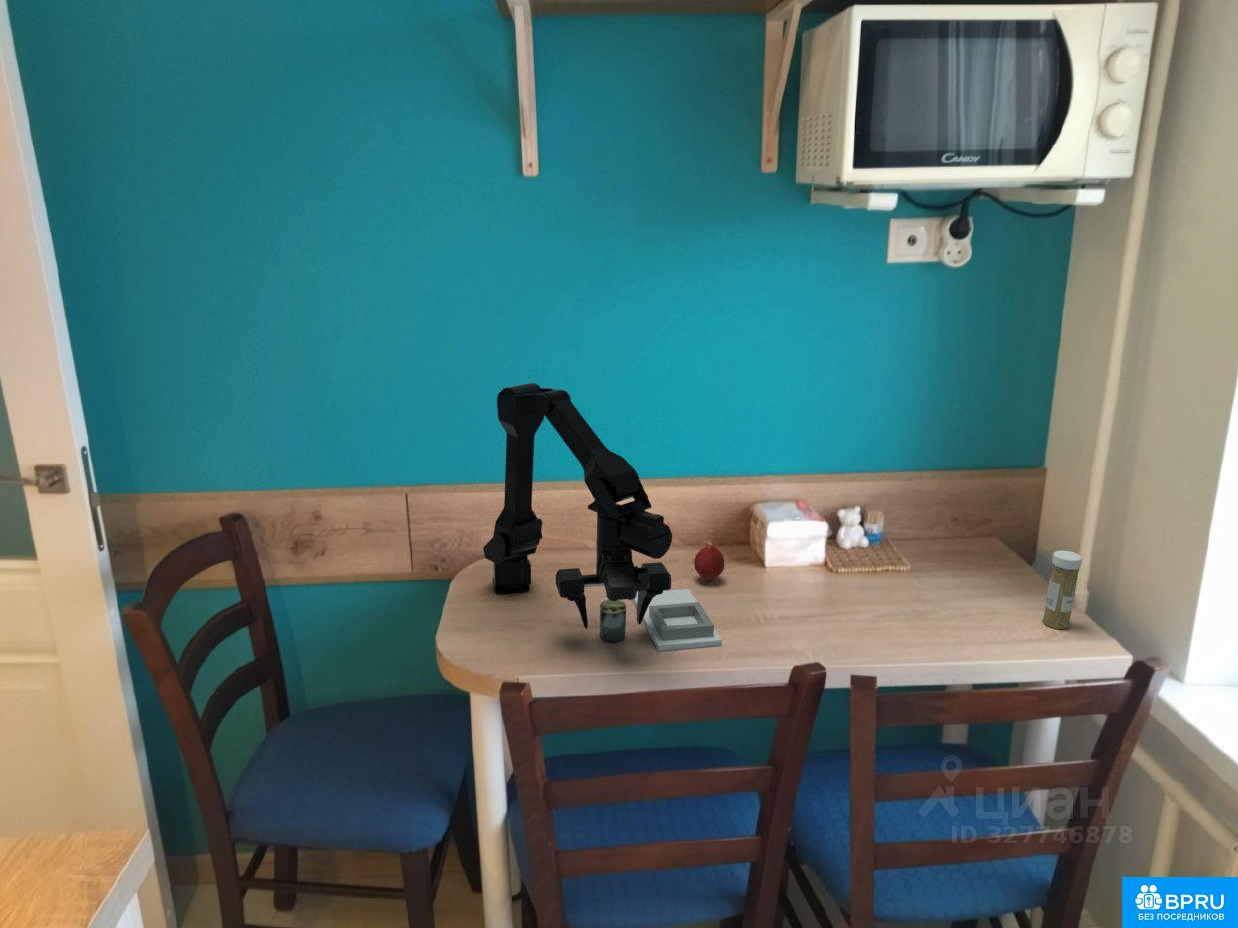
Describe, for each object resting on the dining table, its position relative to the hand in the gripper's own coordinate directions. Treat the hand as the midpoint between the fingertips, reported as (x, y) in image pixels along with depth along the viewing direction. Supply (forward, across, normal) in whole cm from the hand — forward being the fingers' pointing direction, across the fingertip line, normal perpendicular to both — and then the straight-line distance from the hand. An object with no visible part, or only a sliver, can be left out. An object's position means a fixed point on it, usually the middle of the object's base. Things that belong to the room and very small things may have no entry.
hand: (612, 625), depth 157 cm
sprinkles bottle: (+2, +79, -9) cm, 80 cm away
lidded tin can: (+2, 0, 0) cm, 2 cm away
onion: (+2, +23, +19) cm, 30 cm away
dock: (+2, +12, +4) cm, 13 cm away
